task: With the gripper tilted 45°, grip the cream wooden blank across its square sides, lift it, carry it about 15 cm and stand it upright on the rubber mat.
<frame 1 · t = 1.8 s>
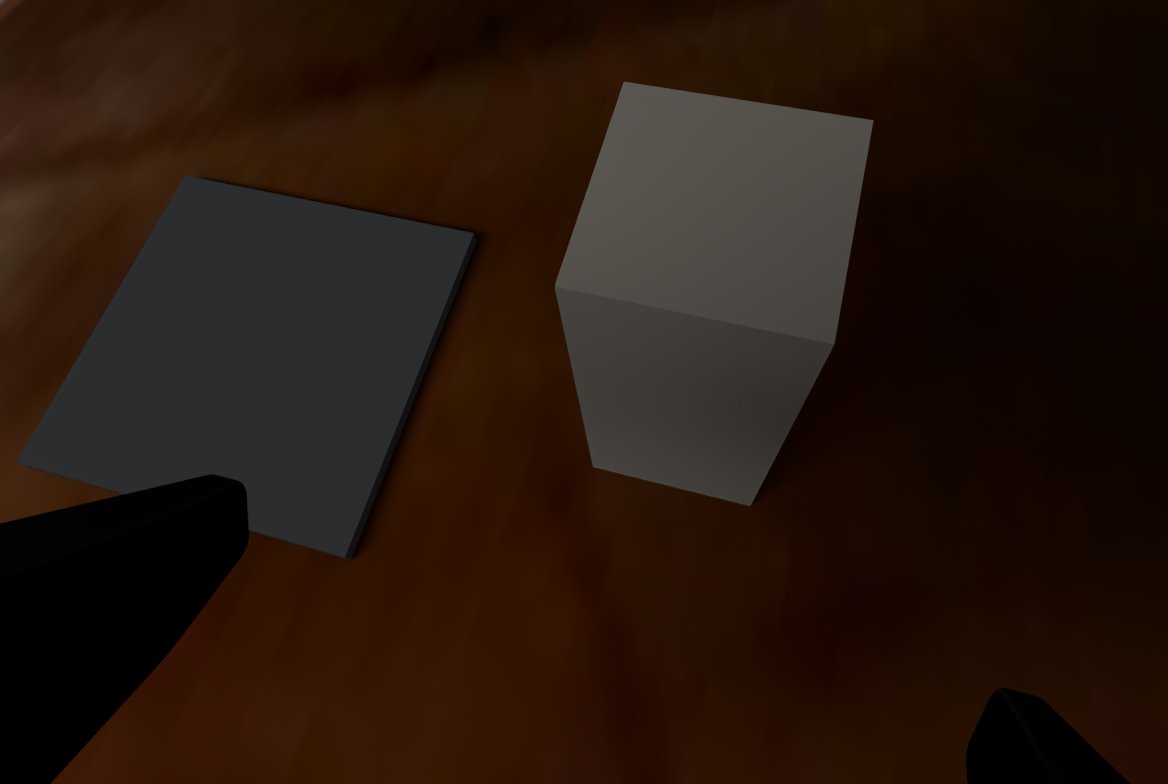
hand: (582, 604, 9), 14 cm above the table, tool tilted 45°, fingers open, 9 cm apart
blank: (688, 413, 24), on the table
mat: (262, 349, 26), on the table
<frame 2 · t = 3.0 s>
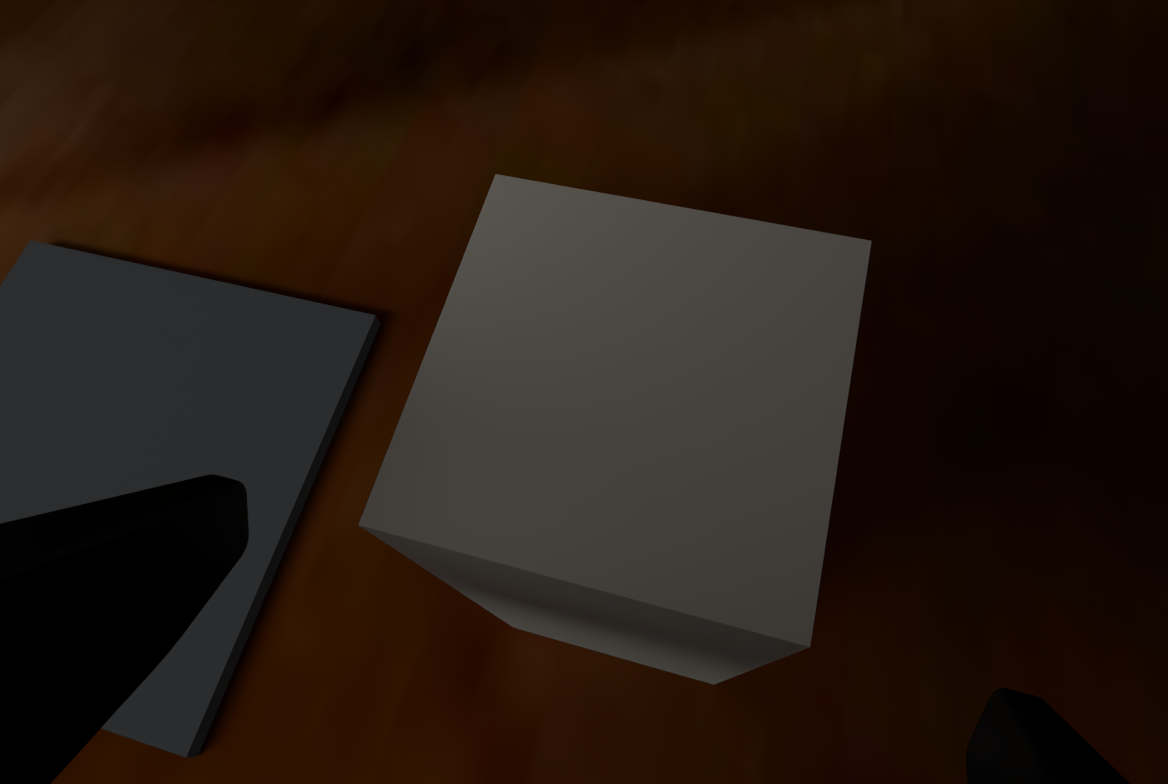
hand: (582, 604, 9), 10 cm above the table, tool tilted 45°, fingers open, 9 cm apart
blank: (636, 554, 19), on the table
mat: (108, 464, 21), on the table
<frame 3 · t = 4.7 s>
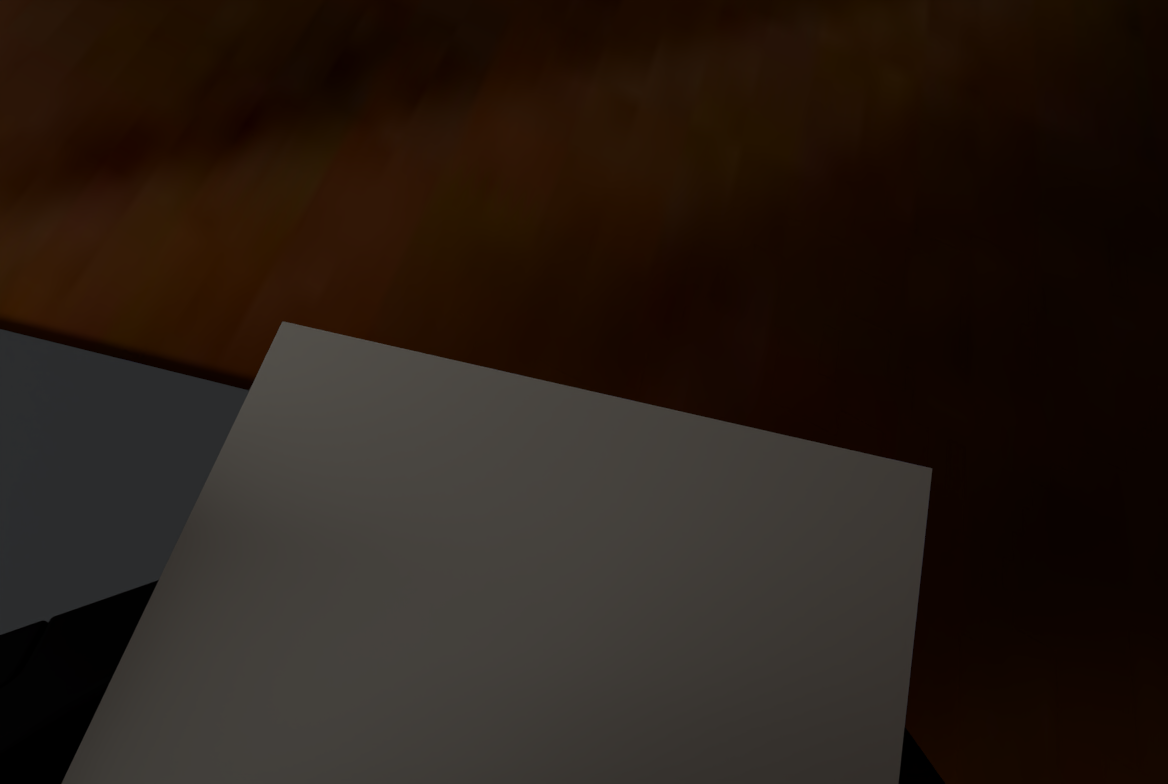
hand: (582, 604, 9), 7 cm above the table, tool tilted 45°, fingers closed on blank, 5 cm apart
blank: (591, 720, 15), on the table, touching gripper
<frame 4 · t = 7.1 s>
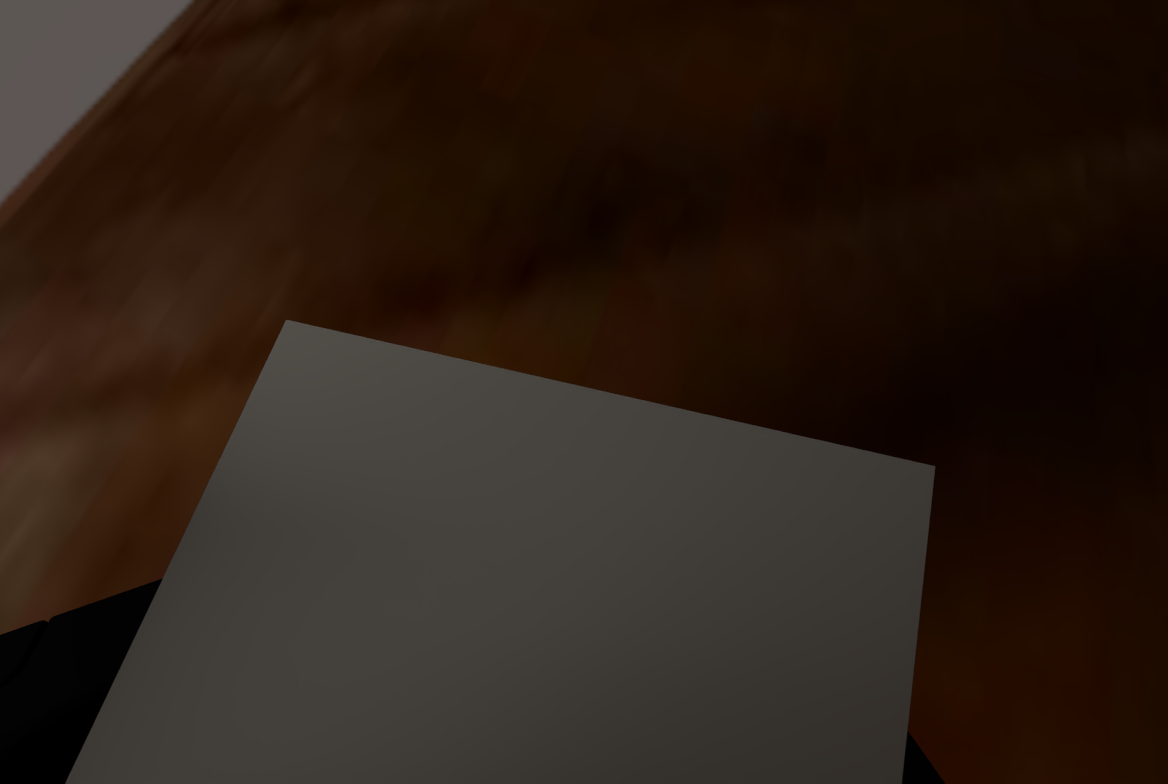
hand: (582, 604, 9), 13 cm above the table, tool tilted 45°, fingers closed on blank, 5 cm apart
blank: (593, 719, 15), point 6 cm above the table, touching gripper
when the fingers open (8 cm above the table, at t = 9.5 s): blank stays where it is, resting on mat.
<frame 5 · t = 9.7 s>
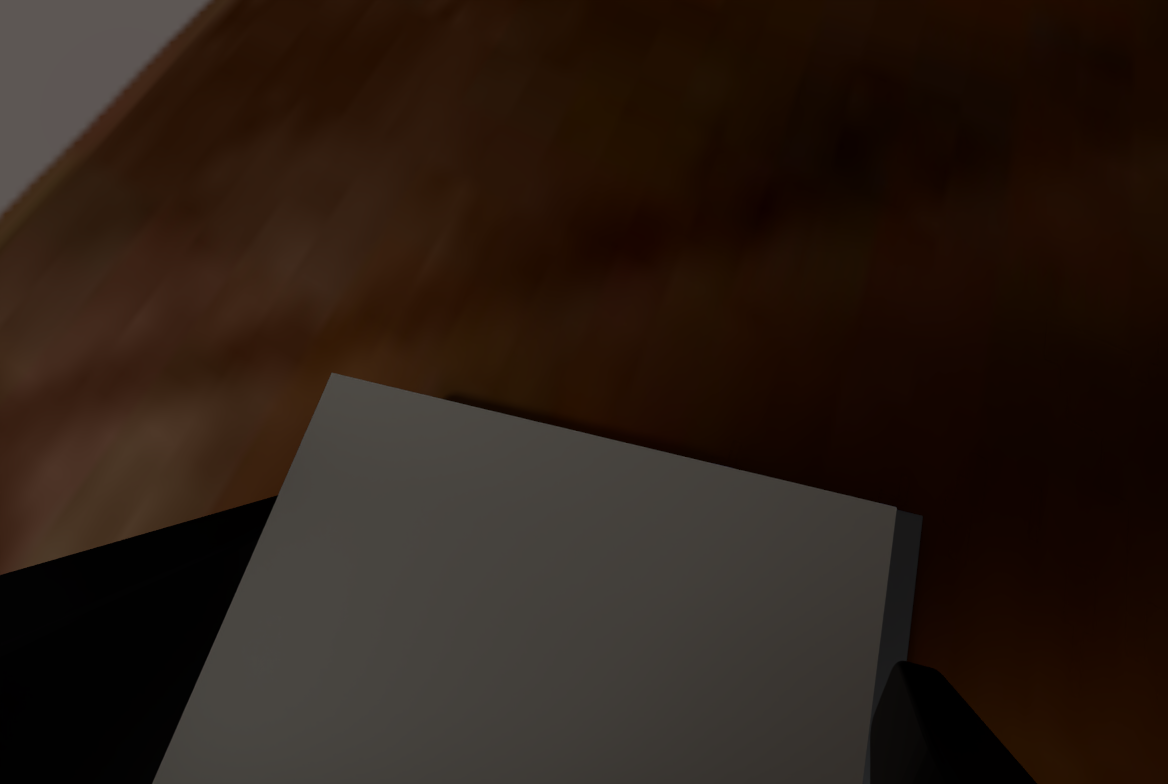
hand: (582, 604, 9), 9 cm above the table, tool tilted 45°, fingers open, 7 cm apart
blank: (596, 719, 16), resting on mat
mat: (596, 717, 16), on the table
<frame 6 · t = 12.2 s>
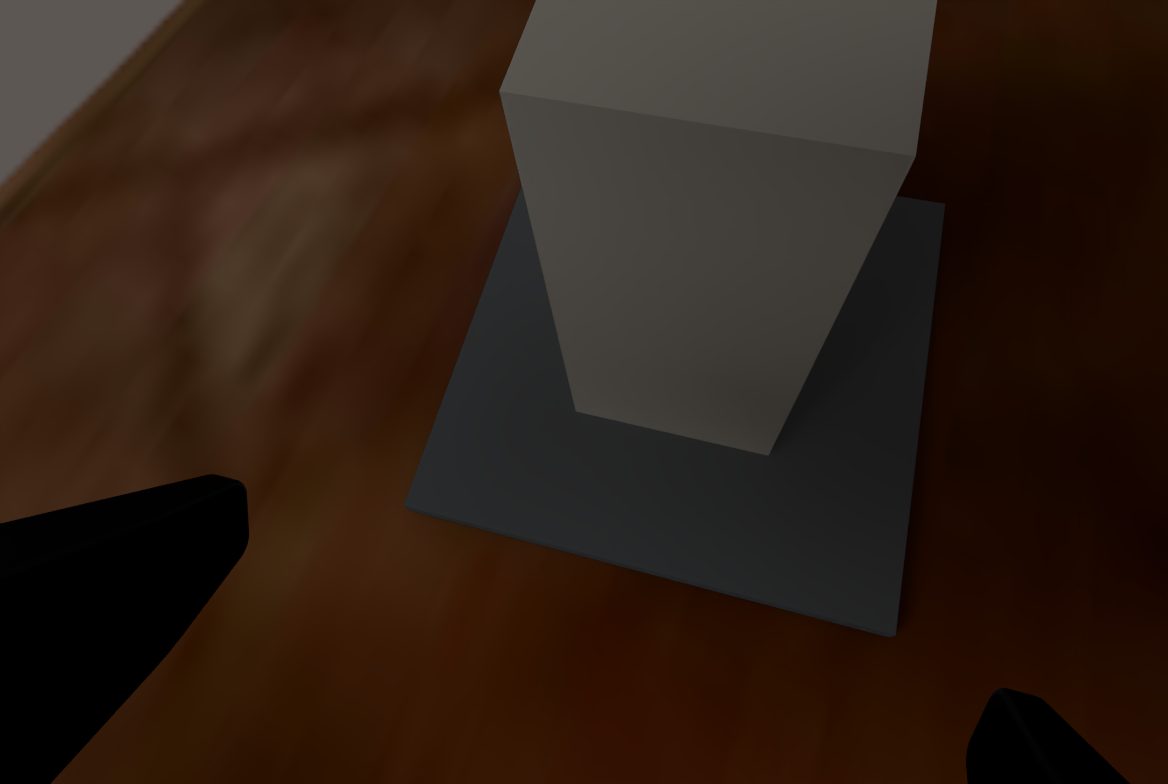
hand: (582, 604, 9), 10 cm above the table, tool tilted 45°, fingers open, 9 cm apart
blank: (690, 347, 20), resting on mat
mat: (688, 354, 20), on the table
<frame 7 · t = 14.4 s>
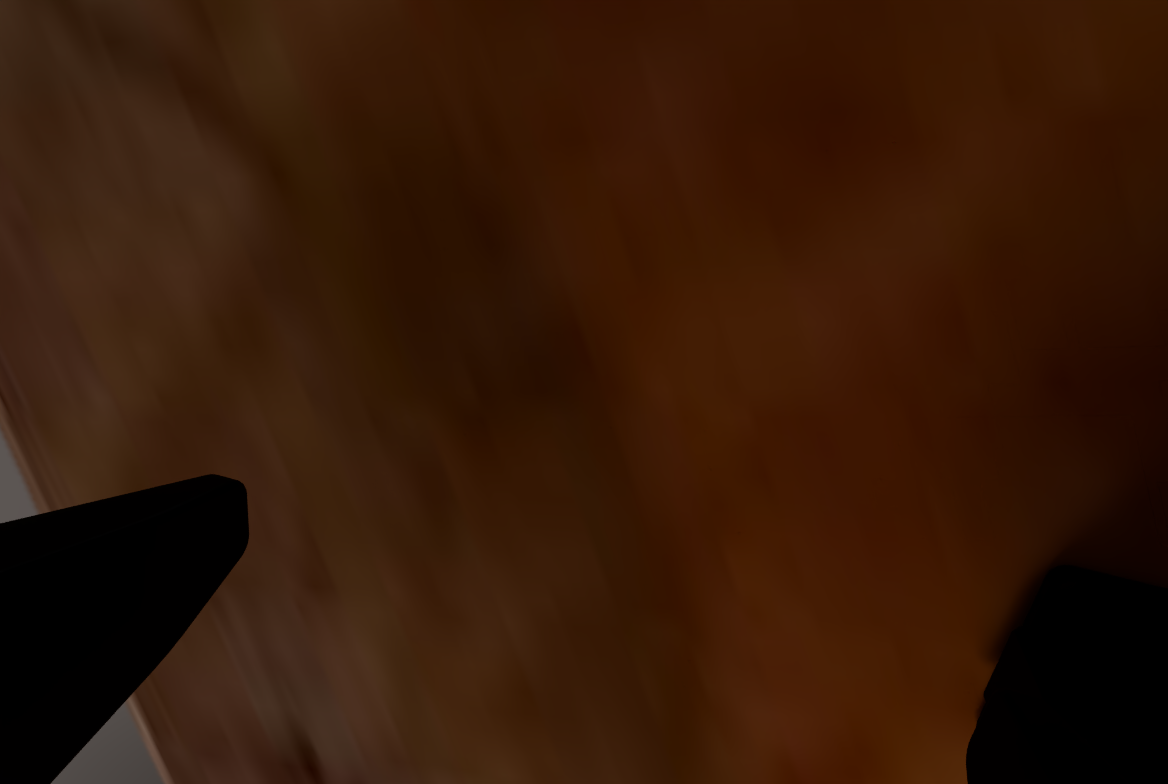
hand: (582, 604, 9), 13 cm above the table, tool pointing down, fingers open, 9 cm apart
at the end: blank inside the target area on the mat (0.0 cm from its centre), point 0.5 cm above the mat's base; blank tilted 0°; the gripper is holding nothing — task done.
